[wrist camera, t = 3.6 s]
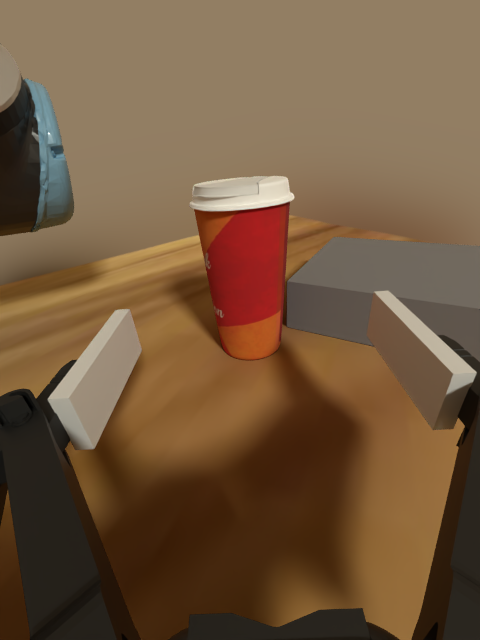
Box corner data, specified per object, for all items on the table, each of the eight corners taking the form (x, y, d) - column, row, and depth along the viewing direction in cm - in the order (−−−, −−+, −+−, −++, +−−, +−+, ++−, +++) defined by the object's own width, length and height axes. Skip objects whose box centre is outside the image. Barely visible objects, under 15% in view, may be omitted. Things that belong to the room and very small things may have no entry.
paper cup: (236, 316, 33) (223, 176, 26) (303, 330, 29) (309, 173, 22) (193, 355, 27) (161, 189, 20) (270, 379, 23) (264, 187, 16)
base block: (286, 326, 30) (286, 281, 27) (331, 272, 42) (334, 236, 39) (483, 370, 22) (508, 313, 20) (470, 289, 34) (484, 246, 31)
